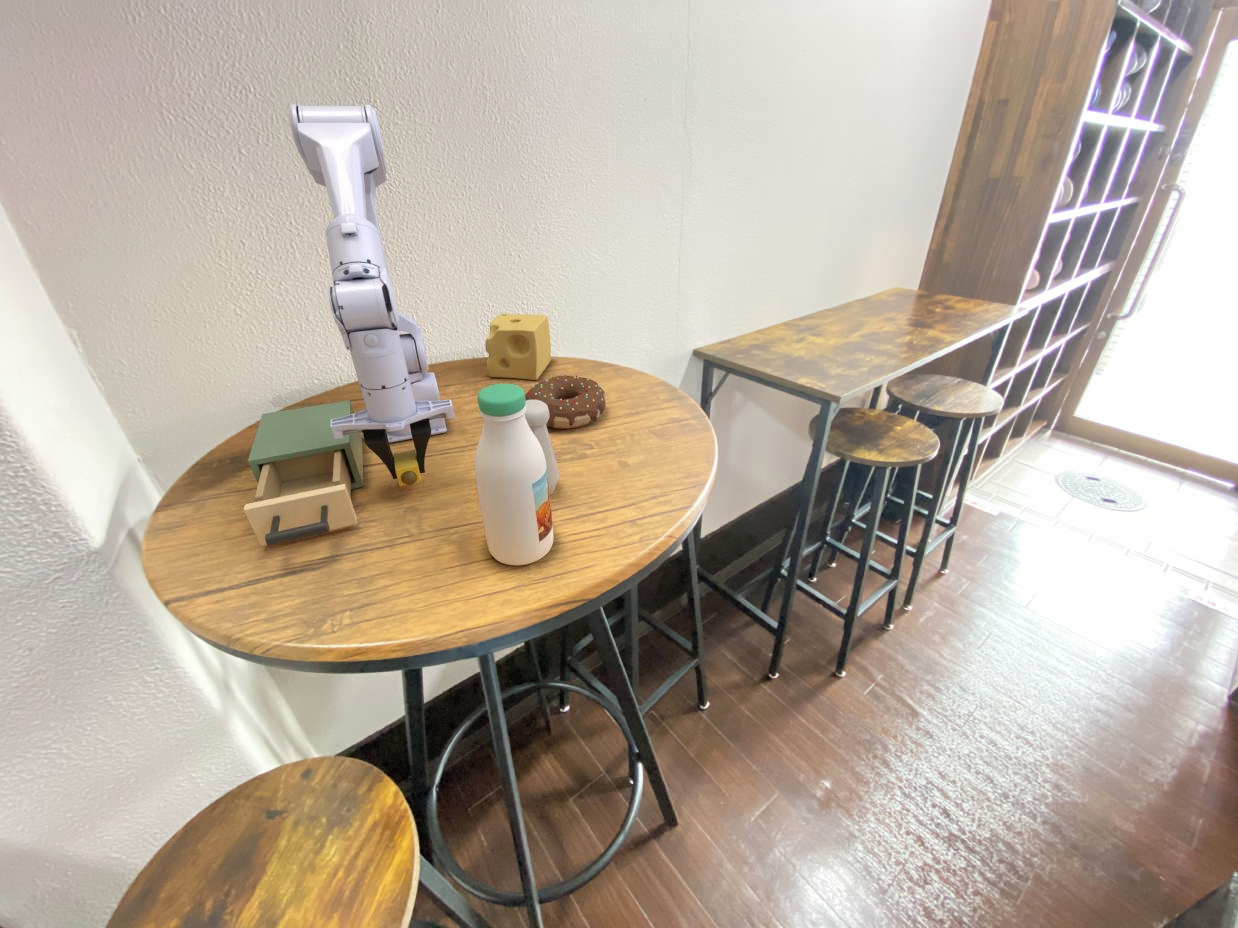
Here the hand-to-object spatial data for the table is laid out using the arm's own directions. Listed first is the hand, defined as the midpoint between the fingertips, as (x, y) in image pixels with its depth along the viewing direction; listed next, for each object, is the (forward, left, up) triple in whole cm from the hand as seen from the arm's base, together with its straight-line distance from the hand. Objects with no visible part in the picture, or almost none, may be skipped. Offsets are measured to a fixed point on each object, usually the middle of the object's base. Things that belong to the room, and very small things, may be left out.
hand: (408, 472), depth 73 cm
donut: (-26, -12, -2) cm, 29 cm away
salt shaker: (-16, +8, -2) cm, 18 cm away
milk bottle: (-11, +18, -2) cm, 21 cm away
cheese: (-24, -34, -2) cm, 42 cm away
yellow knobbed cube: (0, 0, 0) cm, 1 cm away
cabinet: (+12, -9, -2) cm, 15 cm away
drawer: (+12, +4, -1) cm, 13 cm away
